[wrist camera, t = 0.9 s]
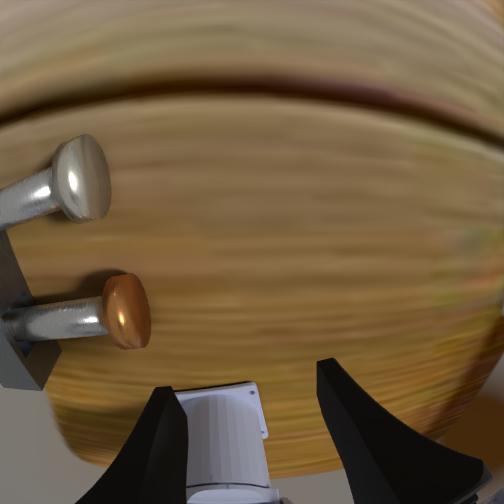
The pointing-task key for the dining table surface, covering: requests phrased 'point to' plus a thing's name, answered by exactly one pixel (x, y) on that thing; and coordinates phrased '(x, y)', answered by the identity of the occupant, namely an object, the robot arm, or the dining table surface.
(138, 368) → the dining table surface
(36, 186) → the pin
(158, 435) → the robot arm
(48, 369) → the block
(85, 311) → the pin
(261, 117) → the dining table surface
